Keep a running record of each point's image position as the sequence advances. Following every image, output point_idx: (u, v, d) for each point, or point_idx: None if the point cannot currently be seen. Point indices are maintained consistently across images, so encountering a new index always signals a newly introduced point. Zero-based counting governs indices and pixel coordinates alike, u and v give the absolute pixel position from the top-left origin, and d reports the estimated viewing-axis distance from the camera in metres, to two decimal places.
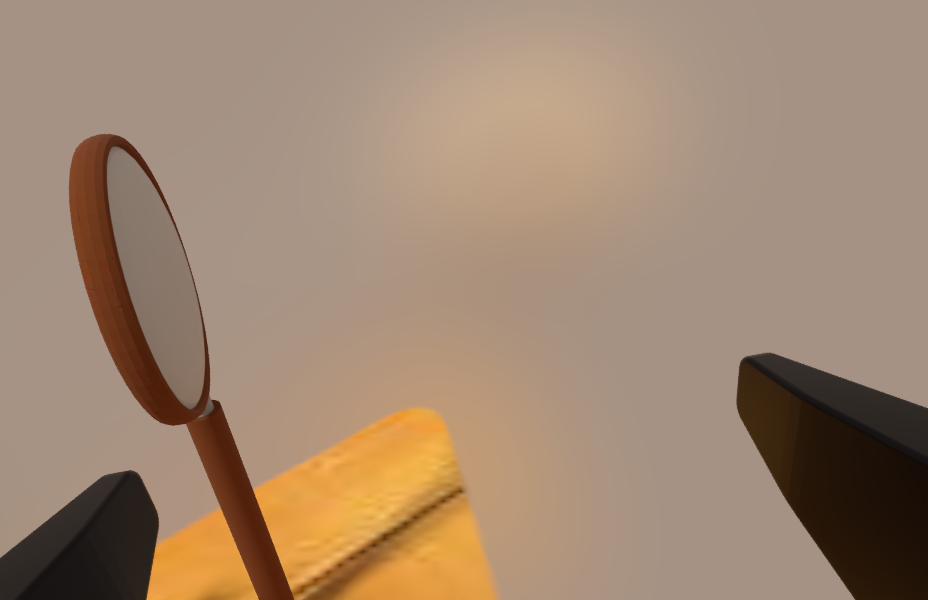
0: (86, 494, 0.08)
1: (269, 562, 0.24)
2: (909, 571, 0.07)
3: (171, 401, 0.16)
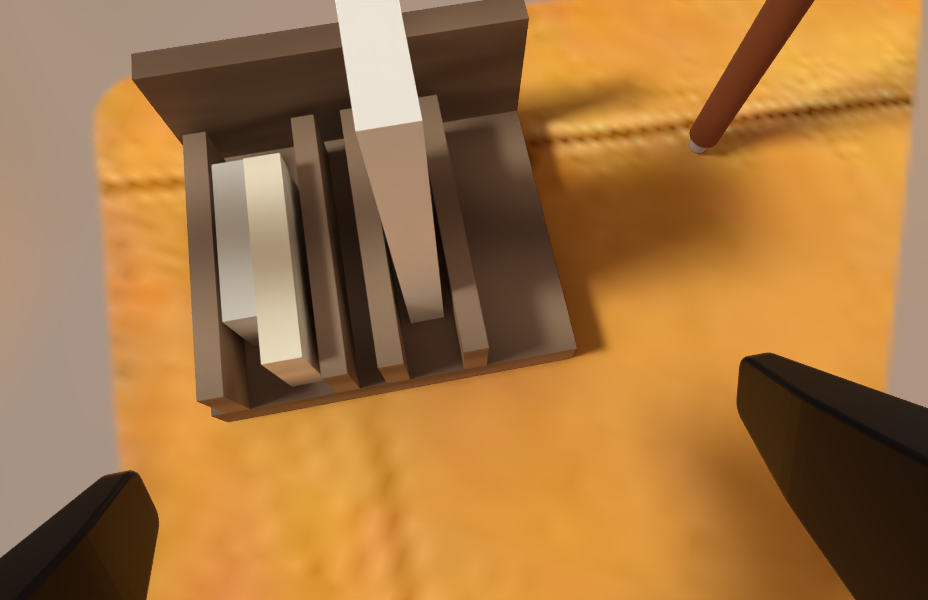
0: (87, 494, 0.08)
1: (743, 100, 0.23)
2: (909, 571, 0.07)
3: None
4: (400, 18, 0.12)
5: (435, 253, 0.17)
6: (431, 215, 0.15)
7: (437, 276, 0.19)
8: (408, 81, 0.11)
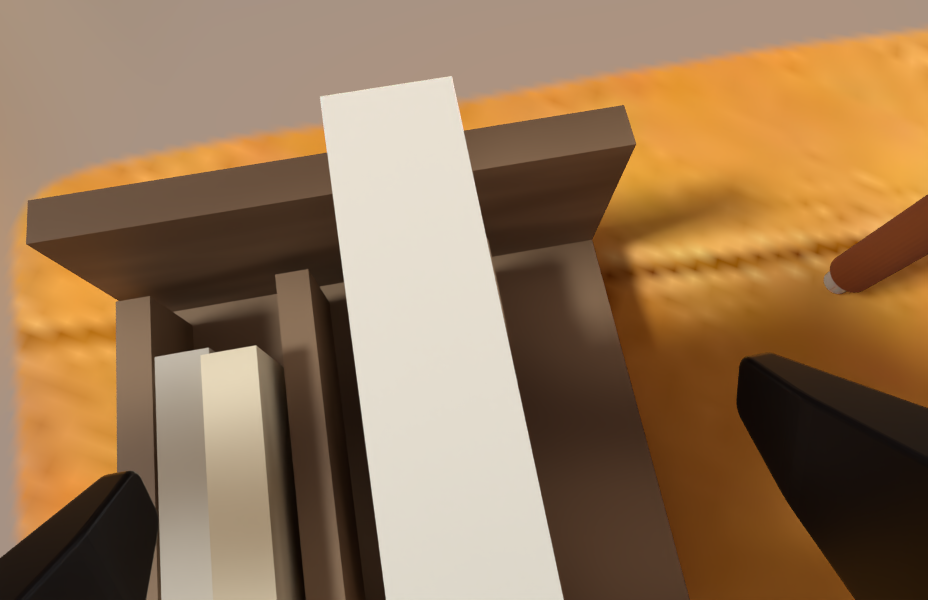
0: (87, 495, 0.08)
1: None
2: (909, 571, 0.07)
3: None
4: (508, 365, 0.05)
5: None
6: None
7: None
8: (540, 565, 0.04)
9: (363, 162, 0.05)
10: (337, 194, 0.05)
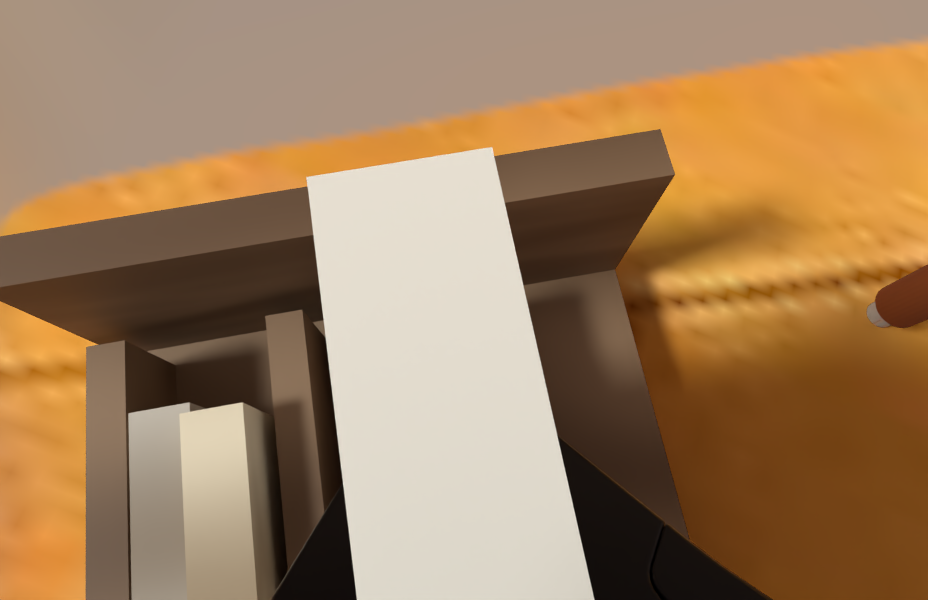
0: None
1: None
2: None
3: None
4: None
5: None
6: None
7: None
8: None
9: (368, 276, 0.04)
10: (330, 325, 0.04)
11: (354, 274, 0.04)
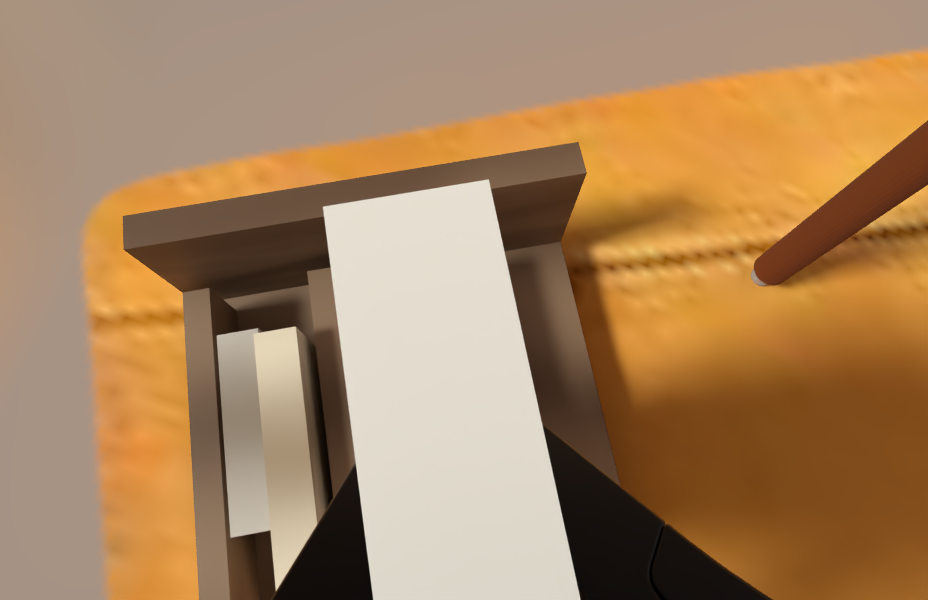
0: None
1: (825, 252, 0.20)
2: None
3: None
4: (570, 583, 0.04)
5: None
6: None
7: None
8: None
9: (379, 296, 0.04)
10: (346, 340, 0.04)
11: (366, 294, 0.04)
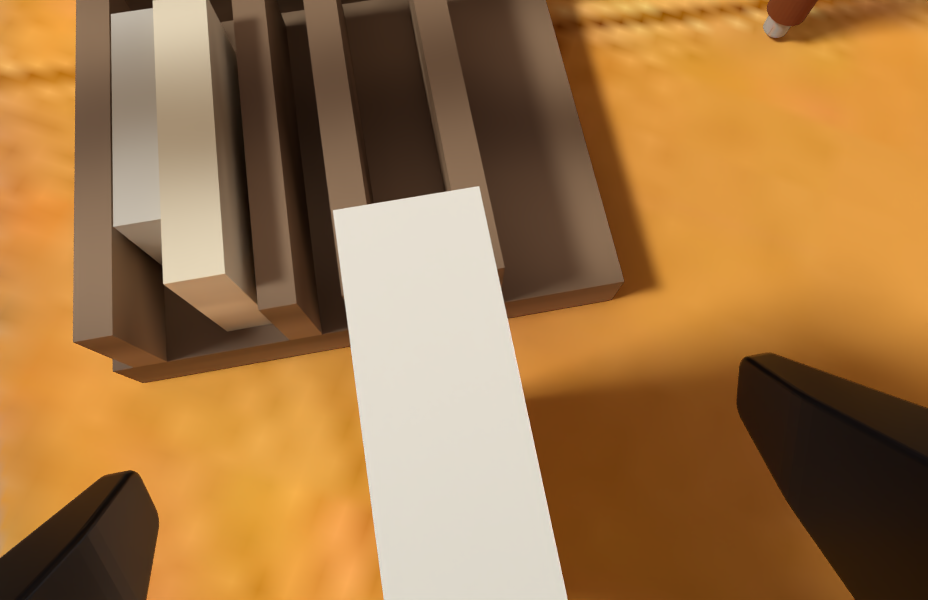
0: (87, 495, 0.08)
1: None
2: (908, 571, 0.07)
3: None
4: (548, 536, 0.04)
5: None
6: None
7: None
8: None
9: (382, 289, 0.05)
10: (354, 327, 0.05)
11: (371, 287, 0.05)
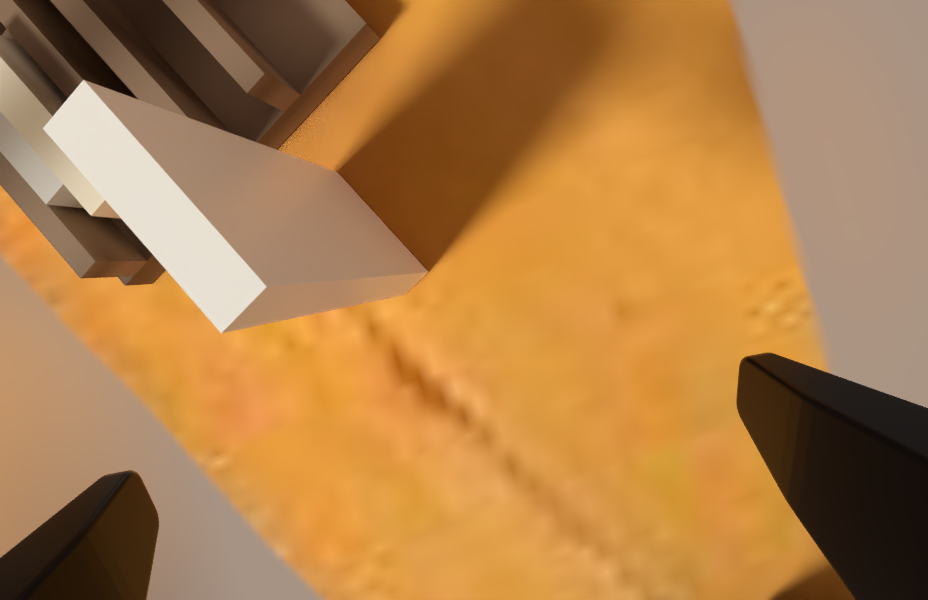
0: (87, 494, 0.08)
1: None
2: (908, 571, 0.07)
3: None
4: (179, 191, 0.11)
5: (376, 277, 0.17)
6: (345, 280, 0.15)
7: (394, 276, 0.19)
8: (230, 254, 0.11)
9: (78, 145, 0.11)
10: (79, 166, 0.11)
11: (74, 148, 0.11)
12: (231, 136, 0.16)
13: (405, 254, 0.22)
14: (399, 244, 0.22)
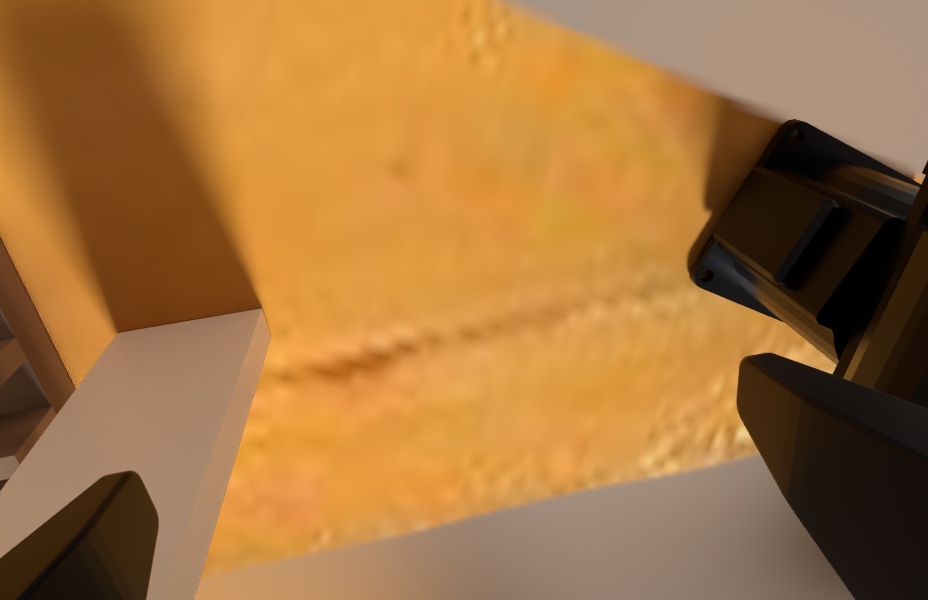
0: (87, 495, 0.08)
1: None
2: (908, 571, 0.07)
3: None
4: None
5: (227, 409, 0.17)
6: (207, 466, 0.15)
7: (240, 374, 0.18)
8: None
9: None
10: None
11: None
12: (15, 478, 0.15)
13: (232, 325, 0.21)
14: (220, 322, 0.22)
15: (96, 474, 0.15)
